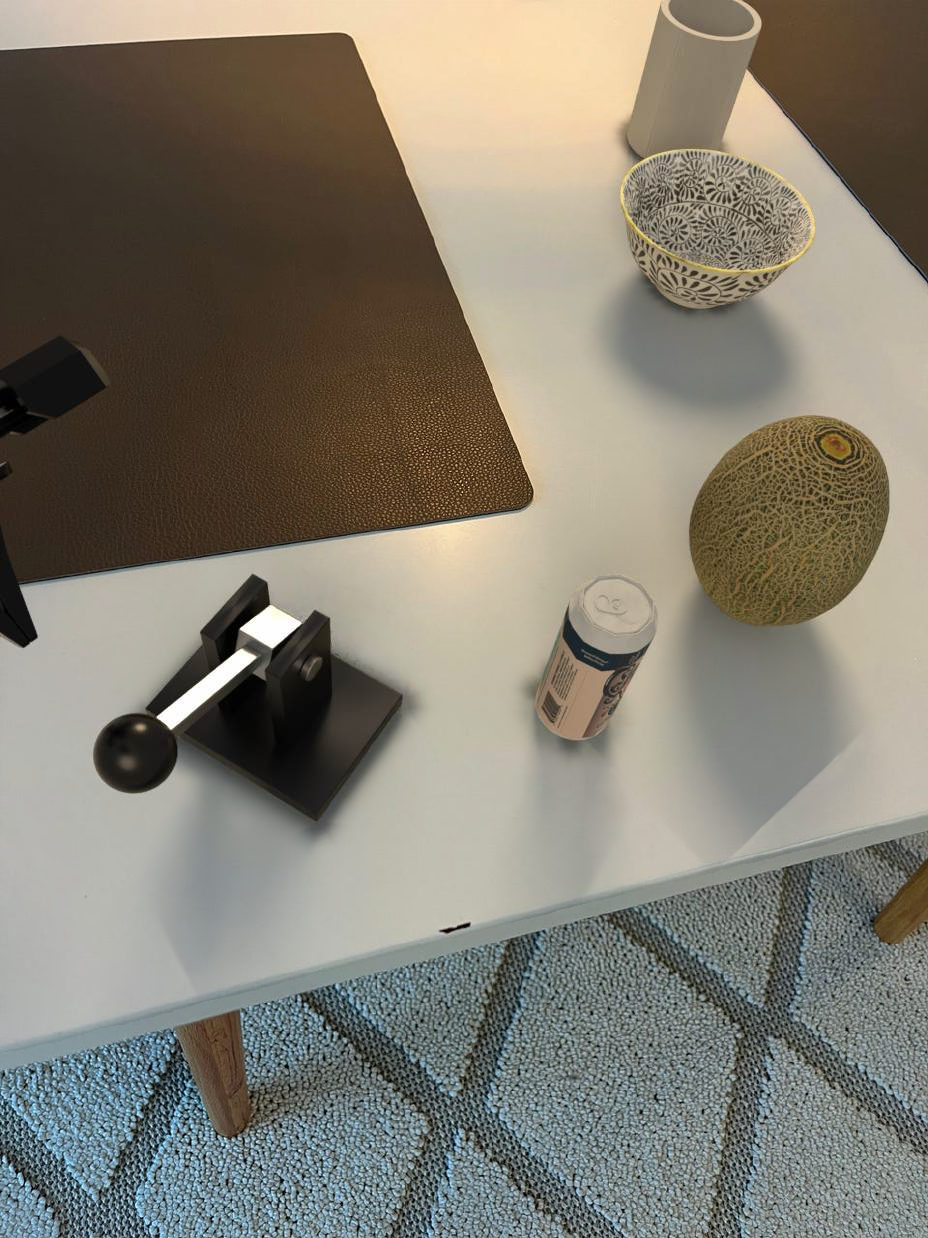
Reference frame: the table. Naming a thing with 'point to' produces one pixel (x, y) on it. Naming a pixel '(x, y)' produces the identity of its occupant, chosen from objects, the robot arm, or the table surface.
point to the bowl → (712, 225)
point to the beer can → (595, 655)
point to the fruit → (789, 520)
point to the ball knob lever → (185, 709)
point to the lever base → (284, 708)
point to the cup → (692, 75)
